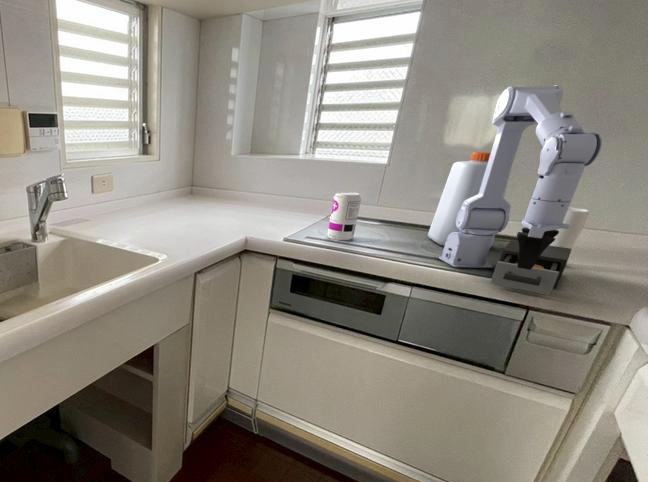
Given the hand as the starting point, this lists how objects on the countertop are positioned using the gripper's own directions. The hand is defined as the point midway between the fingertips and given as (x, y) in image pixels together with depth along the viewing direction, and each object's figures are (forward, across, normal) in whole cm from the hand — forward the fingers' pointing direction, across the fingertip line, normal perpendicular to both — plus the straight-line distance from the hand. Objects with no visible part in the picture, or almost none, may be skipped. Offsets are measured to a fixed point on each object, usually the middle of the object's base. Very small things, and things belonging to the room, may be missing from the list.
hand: (525, 265), depth 84 cm
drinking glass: (+9, +42, -3) cm, 43 cm away
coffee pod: (+6, +13, 0) cm, 14 cm away
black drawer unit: (+8, +24, 0) cm, 25 cm away
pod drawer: (+8, +12, 0) cm, 14 cm away
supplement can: (+9, +28, +49) cm, 57 cm away
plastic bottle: (+9, +49, +20) cm, 54 cm away
